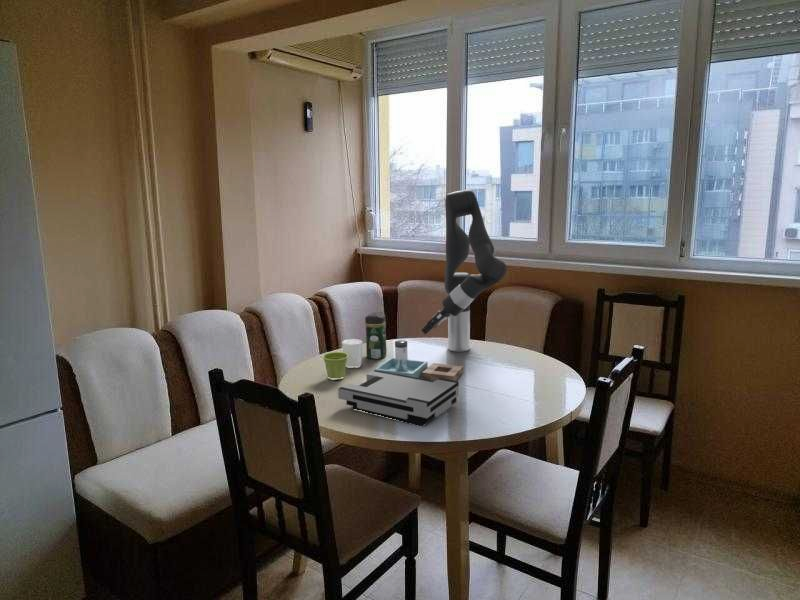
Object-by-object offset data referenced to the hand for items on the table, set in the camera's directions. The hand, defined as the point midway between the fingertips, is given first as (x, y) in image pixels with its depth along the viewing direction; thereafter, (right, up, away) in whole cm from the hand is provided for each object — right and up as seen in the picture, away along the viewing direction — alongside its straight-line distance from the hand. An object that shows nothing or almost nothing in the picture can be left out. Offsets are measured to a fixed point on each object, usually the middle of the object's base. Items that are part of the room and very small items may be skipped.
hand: (427, 329), depth 197 cm
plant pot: (-33, -19, +6) cm, 39 cm away
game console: (-10, -24, -22) cm, 34 cm away
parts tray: (-9, -18, +8) cm, 21 cm away
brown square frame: (+6, -18, +7) cm, 20 cm away
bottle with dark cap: (-9, -17, +7) cm, 20 cm away
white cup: (-28, -16, +20) cm, 38 cm away
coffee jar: (-20, -13, +32) cm, 40 cm away
